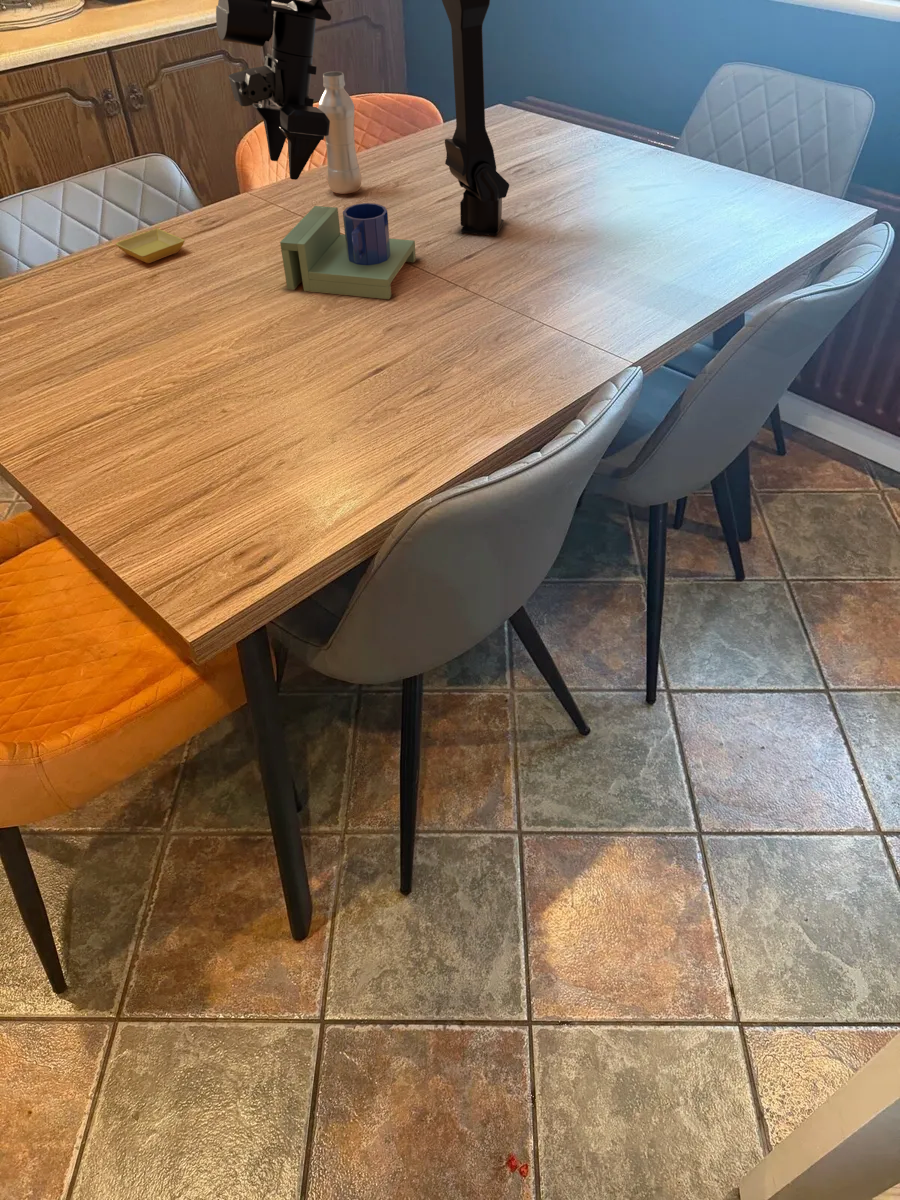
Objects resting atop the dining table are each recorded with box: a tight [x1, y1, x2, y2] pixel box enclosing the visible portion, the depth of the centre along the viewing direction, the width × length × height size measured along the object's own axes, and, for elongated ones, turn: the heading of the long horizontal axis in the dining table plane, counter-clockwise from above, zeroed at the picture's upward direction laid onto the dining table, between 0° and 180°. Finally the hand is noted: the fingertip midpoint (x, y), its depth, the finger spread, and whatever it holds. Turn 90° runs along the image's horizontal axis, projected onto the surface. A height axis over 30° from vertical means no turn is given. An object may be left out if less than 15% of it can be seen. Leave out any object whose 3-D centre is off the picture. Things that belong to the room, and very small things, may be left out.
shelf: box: [279, 205, 417, 300], centre depth 137 cm, size 17×15×8 cm
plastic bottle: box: [317, 70, 363, 195], centre depth 159 cm, size 6×7×20 cm
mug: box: [342, 202, 390, 265], centre depth 134 cm, size 7×9×7 cm
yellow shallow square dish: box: [115, 228, 186, 264], centre depth 147 cm, size 9×9×2 cm
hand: (283, 169), depth 131 cm, fingers open, 9 cm apart
